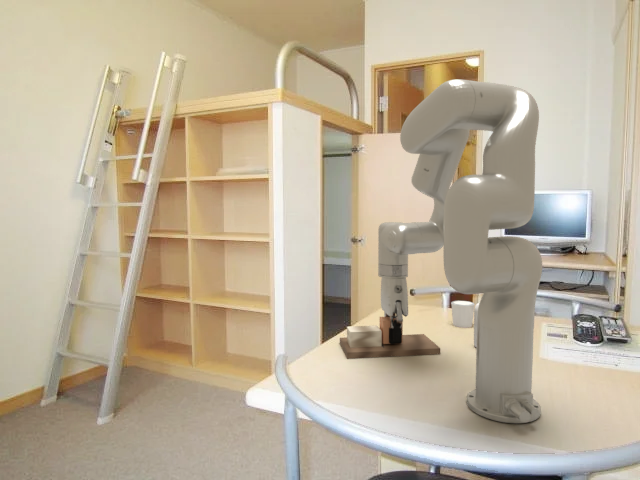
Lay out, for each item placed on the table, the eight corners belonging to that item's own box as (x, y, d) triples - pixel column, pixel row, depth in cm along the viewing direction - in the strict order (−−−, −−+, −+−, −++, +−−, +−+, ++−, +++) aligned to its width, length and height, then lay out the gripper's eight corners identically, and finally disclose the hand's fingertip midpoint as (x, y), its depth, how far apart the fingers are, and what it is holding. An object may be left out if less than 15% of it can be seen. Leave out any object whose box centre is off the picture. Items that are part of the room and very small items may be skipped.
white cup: (446, 323, 138) (446, 301, 138) (465, 321, 140) (465, 299, 140) (459, 329, 132) (459, 306, 131) (479, 327, 134) (479, 304, 133)
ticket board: (347, 358, 108) (347, 336, 107) (339, 343, 120) (339, 323, 119) (440, 354, 110) (440, 332, 110) (423, 339, 122) (424, 319, 122)
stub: (383, 344, 113) (383, 320, 112) (379, 339, 117) (379, 316, 116) (402, 343, 113) (402, 320, 113) (397, 338, 117) (398, 316, 117)
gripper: (418, 275, 105) (417, 350, 107) (398, 265, 122) (397, 330, 124) (387, 276, 105) (386, 351, 106) (371, 266, 121) (371, 331, 123)
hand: (392, 339), depth 115 cm, fingers closed on stub, 4 cm apart
